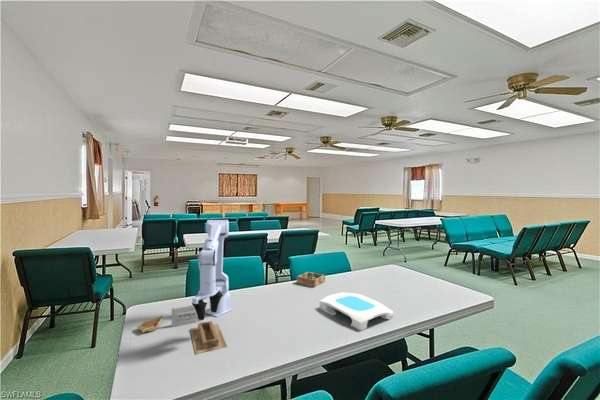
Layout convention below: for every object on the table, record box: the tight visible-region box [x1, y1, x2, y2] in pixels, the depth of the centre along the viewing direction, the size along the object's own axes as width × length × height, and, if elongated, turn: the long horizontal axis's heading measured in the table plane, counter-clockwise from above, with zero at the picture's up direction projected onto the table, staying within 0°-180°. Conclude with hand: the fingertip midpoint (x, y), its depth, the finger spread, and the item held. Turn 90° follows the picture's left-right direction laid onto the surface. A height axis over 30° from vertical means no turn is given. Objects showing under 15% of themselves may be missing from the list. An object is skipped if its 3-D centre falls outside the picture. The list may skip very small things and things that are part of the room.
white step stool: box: [319, 292, 394, 331], centre depth 131 cm, size 21×28×6 cm
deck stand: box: [296, 271, 326, 288], centre depth 176 cm, size 13×13×5 cm
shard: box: [136, 315, 164, 334], centre depth 118 cm, size 11×8×2 cm
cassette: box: [171, 304, 202, 328], centre depth 121 cm, size 12×2×8 cm, turn 117°
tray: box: [190, 320, 228, 356], centre depth 109 cm, size 11×20×3 cm, turn 26°
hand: (207, 315), depth 109 cm, fingers open, 7 cm apart
